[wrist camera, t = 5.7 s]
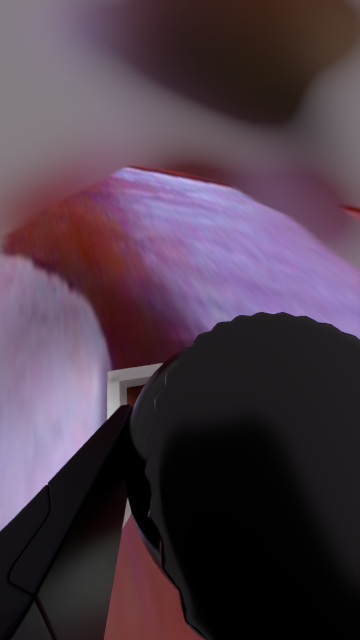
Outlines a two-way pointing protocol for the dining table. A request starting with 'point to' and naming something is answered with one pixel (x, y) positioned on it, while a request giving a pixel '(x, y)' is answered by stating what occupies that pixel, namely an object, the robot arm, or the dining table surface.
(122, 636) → the dining table surface
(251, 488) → the supplement bottle
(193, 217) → the dining table surface
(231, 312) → the dining table surface
